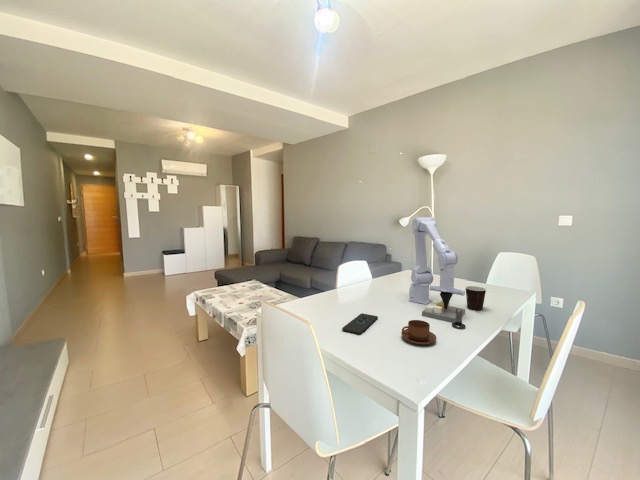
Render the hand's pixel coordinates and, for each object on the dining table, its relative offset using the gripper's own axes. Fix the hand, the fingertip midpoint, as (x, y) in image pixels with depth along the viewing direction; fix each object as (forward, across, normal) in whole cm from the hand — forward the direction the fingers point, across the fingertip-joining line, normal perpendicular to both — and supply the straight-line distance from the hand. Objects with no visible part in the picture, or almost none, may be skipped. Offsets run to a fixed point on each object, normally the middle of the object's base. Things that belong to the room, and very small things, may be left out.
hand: (446, 308), depth 126 cm
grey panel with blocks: (+3, -1, 0) cm, 3 cm away
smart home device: (+4, -24, -34) cm, 42 cm away
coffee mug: (+3, +8, +16) cm, 18 cm away
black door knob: (+3, +8, -11) cm, 14 cm away
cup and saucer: (+3, 0, -33) cm, 33 cm away
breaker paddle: (+1, -2, 0) cm, 2 cm away
